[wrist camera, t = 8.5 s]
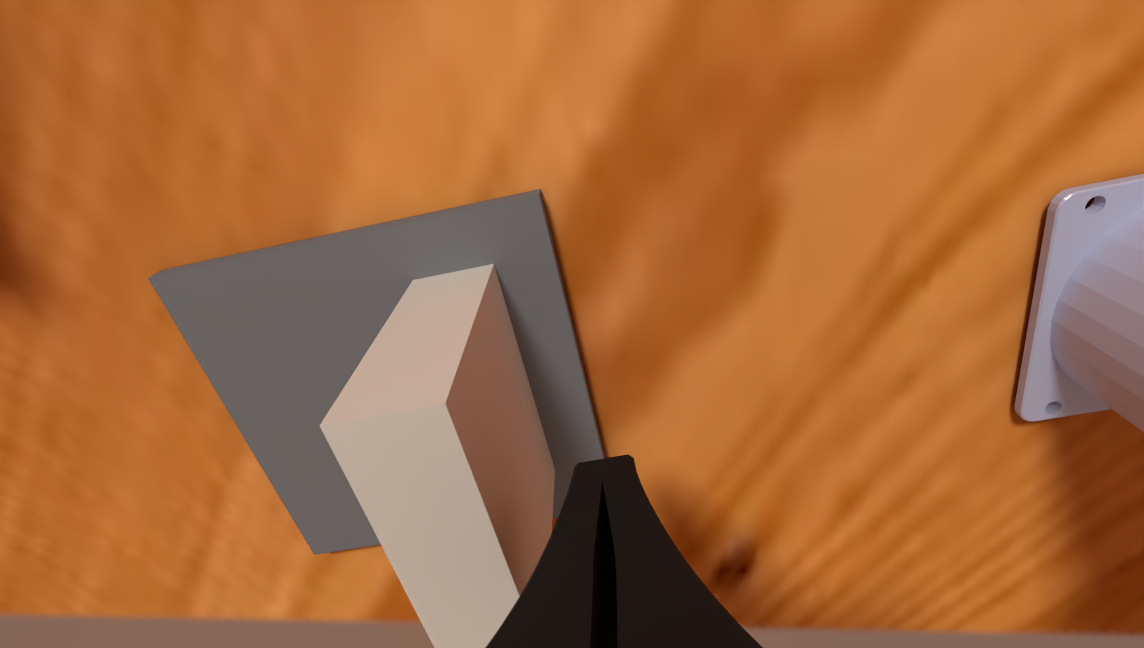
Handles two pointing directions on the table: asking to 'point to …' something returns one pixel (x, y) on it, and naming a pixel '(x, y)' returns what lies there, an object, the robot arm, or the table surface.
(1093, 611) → the table surface
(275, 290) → the mat
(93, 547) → the table surface
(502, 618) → the block
